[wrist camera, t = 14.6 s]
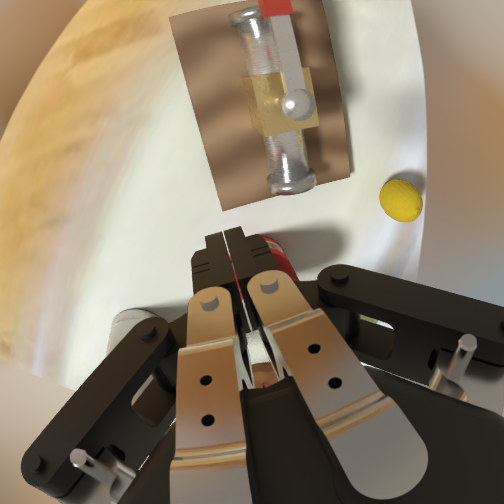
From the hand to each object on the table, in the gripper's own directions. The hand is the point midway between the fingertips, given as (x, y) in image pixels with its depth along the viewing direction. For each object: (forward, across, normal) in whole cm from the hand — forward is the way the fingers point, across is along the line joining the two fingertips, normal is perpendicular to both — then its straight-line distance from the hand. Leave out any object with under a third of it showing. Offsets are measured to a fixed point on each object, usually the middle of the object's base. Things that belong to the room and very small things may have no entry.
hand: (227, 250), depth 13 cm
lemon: (+25, -24, +12) cm, 37 cm away
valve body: (+25, -9, -4) cm, 27 cm away
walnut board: (+25, -9, -4) cm, 27 cm away
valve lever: (+15, -9, -9) cm, 20 cm away
